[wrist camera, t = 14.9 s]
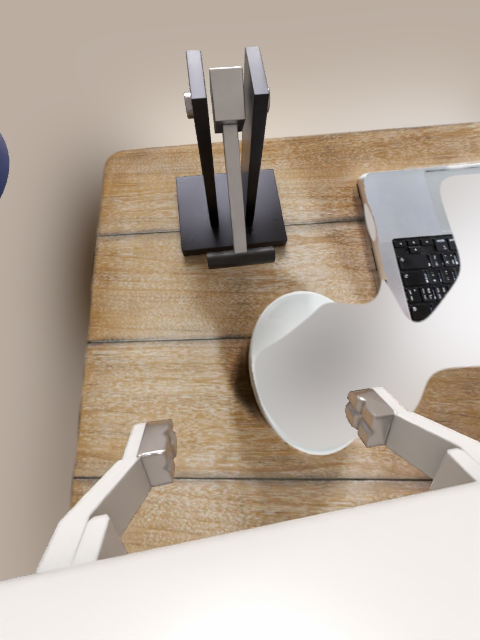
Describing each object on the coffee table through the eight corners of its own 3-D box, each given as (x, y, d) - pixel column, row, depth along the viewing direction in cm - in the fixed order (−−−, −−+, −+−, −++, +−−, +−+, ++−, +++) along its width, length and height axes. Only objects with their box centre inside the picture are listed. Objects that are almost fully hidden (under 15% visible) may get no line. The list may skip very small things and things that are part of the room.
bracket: (285, 245, 28) (332, 124, 14) (183, 256, 27) (135, 138, 14) (271, 176, 30) (301, 16, 17) (178, 184, 29) (131, 24, 16)
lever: (270, 260, 23) (276, 264, 20) (209, 267, 22) (208, 271, 20) (263, 84, 18) (270, 64, 15) (184, 89, 17) (179, 69, 15)
